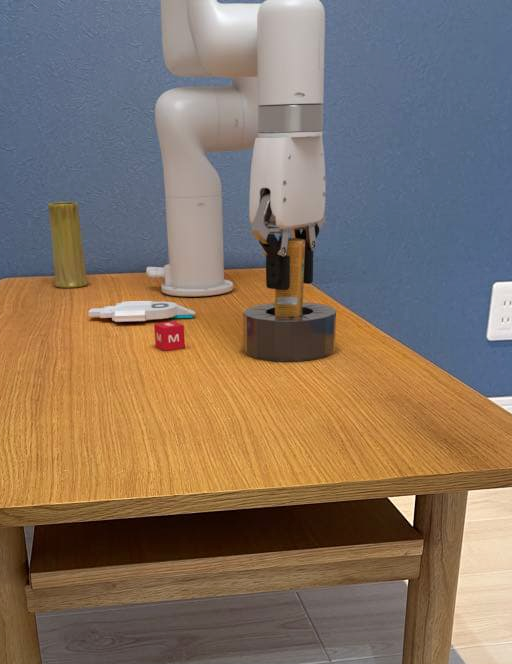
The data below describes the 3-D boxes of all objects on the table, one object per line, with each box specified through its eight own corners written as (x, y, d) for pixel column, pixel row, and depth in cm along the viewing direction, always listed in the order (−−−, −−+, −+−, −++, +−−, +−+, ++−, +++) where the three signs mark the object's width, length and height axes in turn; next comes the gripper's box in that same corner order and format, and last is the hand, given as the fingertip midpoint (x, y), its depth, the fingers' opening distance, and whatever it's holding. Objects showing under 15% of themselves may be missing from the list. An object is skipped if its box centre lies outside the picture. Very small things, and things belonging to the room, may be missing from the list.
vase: (95, 283, 159) (87, 201, 152) (72, 289, 154) (63, 205, 148) (70, 281, 162) (61, 201, 155) (47, 286, 157) (38, 204, 151)
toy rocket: (84, 326, 126) (83, 310, 125) (96, 313, 135) (94, 298, 134) (192, 324, 125) (192, 308, 124) (197, 311, 134) (196, 296, 133)
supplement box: (301, 324, 107) (302, 241, 102) (274, 324, 108) (273, 241, 103) (304, 319, 110) (305, 237, 105) (278, 318, 111) (278, 237, 106)
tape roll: (236, 360, 106) (235, 320, 104) (253, 338, 117) (252, 301, 114) (329, 363, 104) (330, 321, 102) (338, 340, 114) (339, 302, 112)
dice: (185, 348, 113) (183, 325, 112) (164, 351, 112) (162, 328, 110) (176, 343, 115) (174, 321, 114) (155, 346, 114) (154, 323, 113)
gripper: (304, 122, 107) (302, 273, 115) (219, 125, 95) (224, 293, 103) (356, 121, 102) (350, 278, 110) (273, 124, 91) (274, 299, 99)
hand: (289, 284), depth 107 cm, fingers closed on supplement box, 4 cm apart
